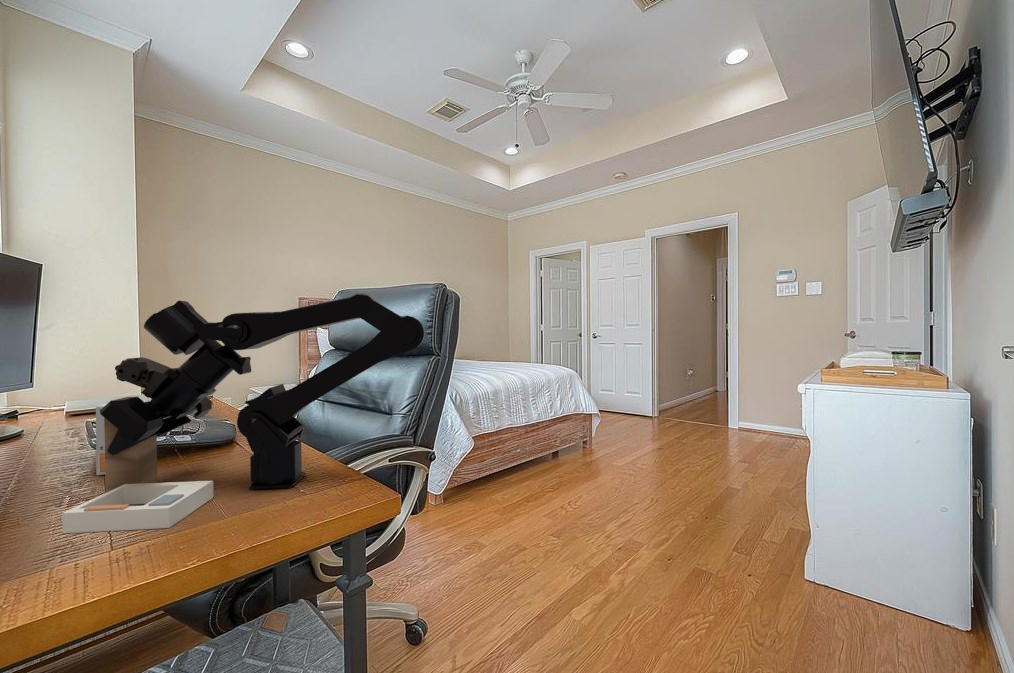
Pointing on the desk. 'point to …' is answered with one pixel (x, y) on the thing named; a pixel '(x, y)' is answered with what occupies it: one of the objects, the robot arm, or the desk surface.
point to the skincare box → (100, 441)
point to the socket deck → (138, 507)
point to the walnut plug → (129, 461)
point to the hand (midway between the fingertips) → (121, 448)
